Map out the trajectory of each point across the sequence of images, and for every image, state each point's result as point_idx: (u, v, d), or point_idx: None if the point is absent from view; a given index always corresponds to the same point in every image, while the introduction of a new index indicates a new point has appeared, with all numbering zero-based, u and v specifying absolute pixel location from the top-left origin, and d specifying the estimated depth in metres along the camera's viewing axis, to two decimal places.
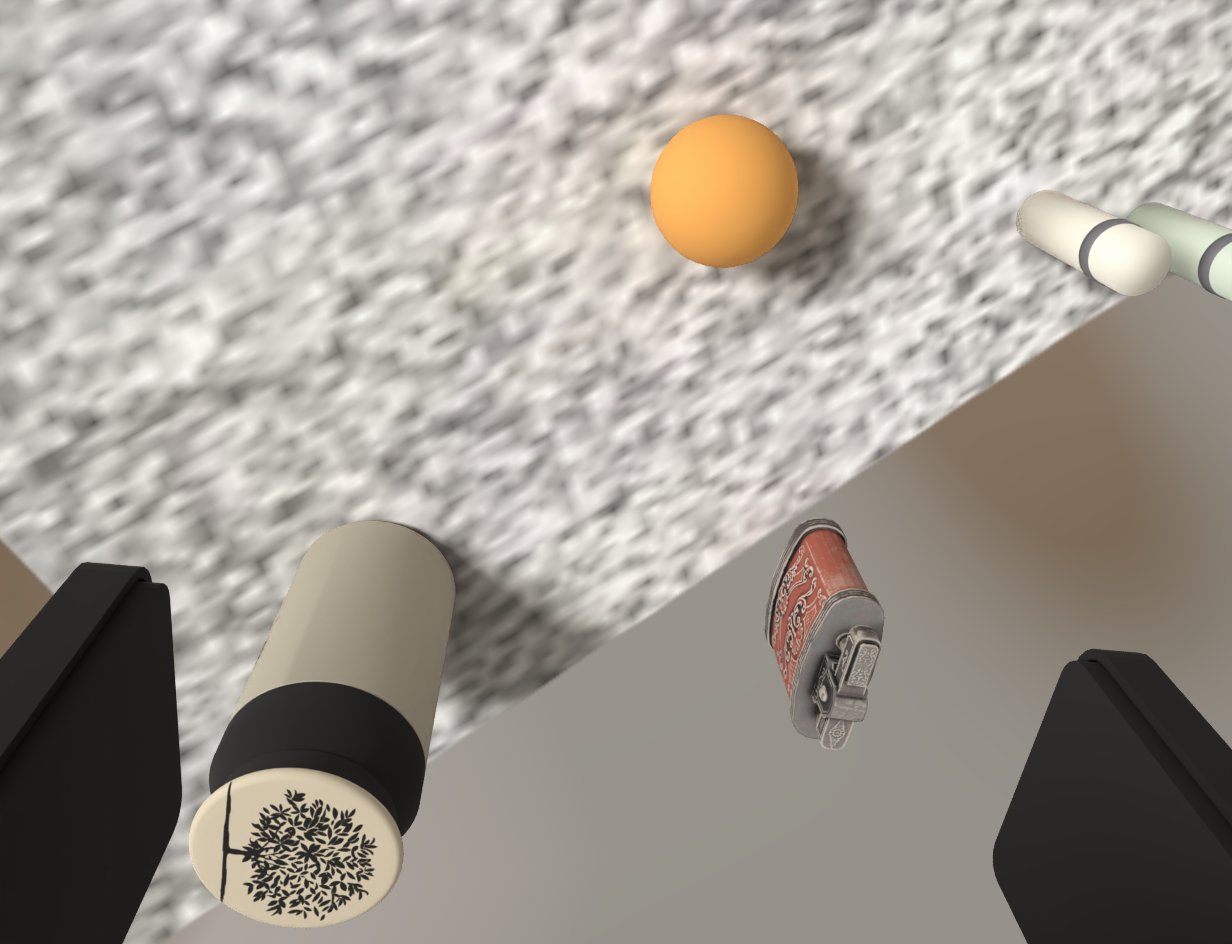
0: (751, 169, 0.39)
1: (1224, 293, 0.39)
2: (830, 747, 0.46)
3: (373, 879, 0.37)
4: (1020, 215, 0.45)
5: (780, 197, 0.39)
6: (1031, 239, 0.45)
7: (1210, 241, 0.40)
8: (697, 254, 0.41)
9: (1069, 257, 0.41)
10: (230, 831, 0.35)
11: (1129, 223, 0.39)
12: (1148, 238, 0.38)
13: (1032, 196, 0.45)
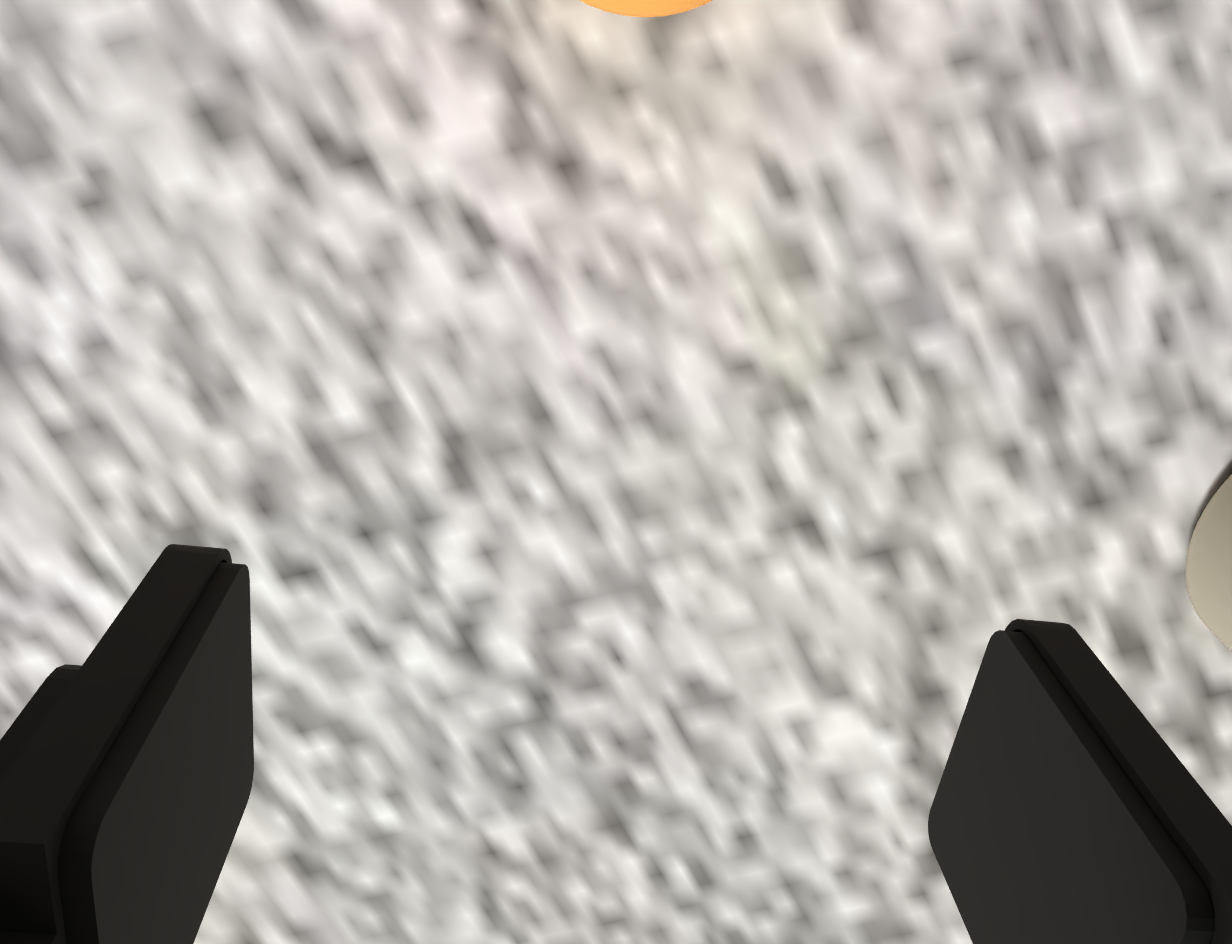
0: None
1: None
2: None
3: None
4: None
5: None
6: None
7: None
8: None
9: None
10: None
11: None
12: None
13: None
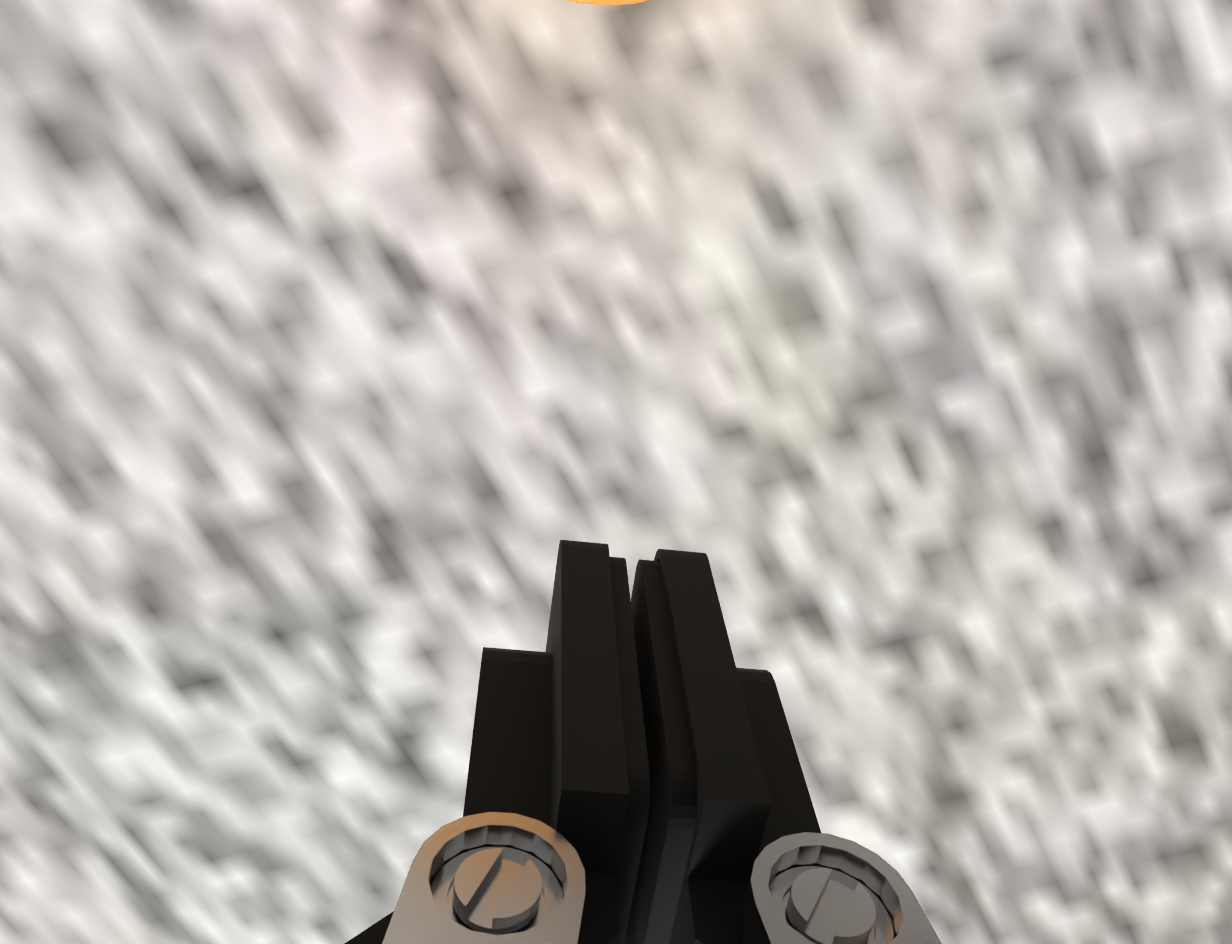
0: None
1: None
2: None
3: None
4: None
5: None
6: None
7: None
8: None
9: None
10: None
11: None
12: None
13: None
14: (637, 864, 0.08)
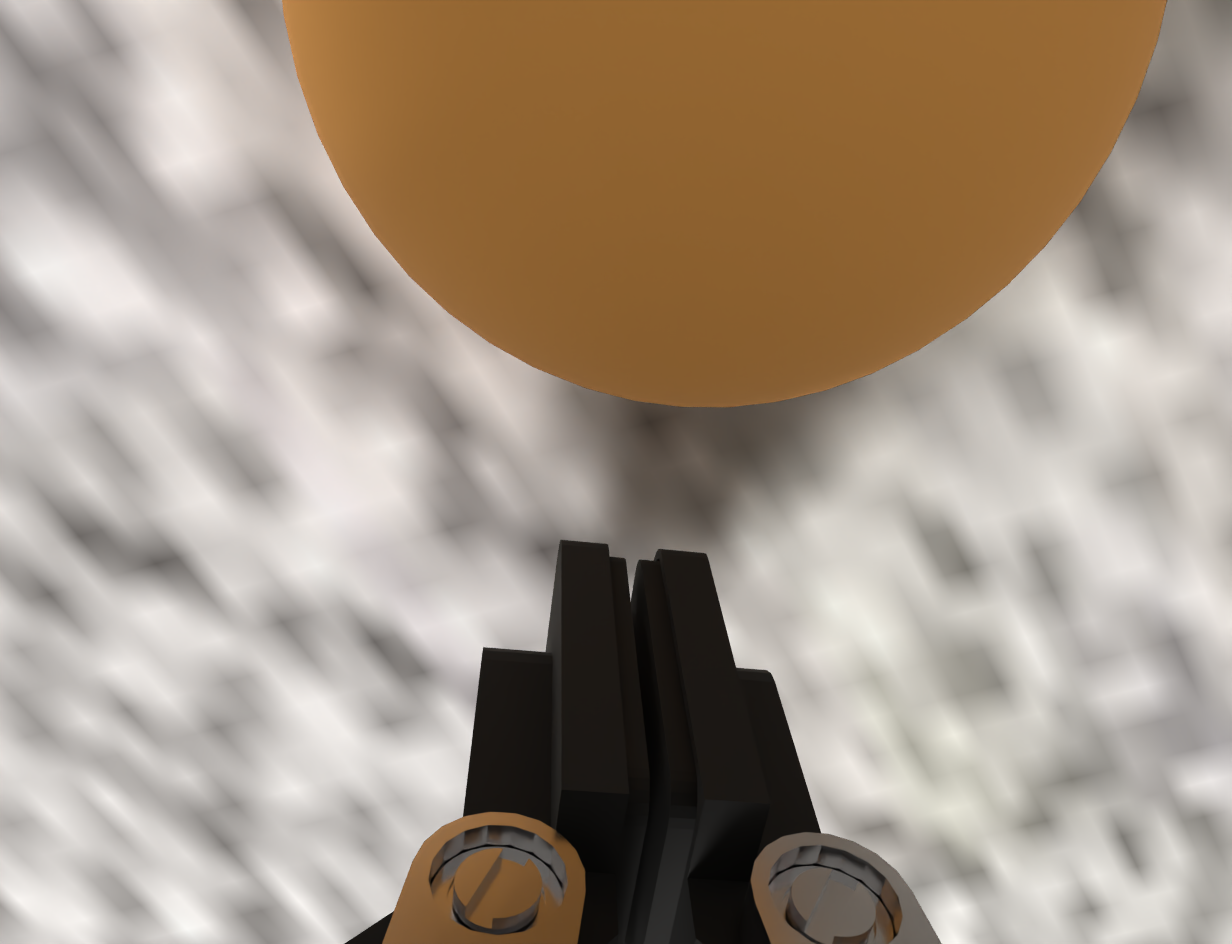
0: None
1: None
2: None
3: None
4: None
5: None
6: None
7: None
8: (1074, 198, 0.06)
9: None
10: None
11: None
12: None
13: None
14: (637, 864, 0.08)
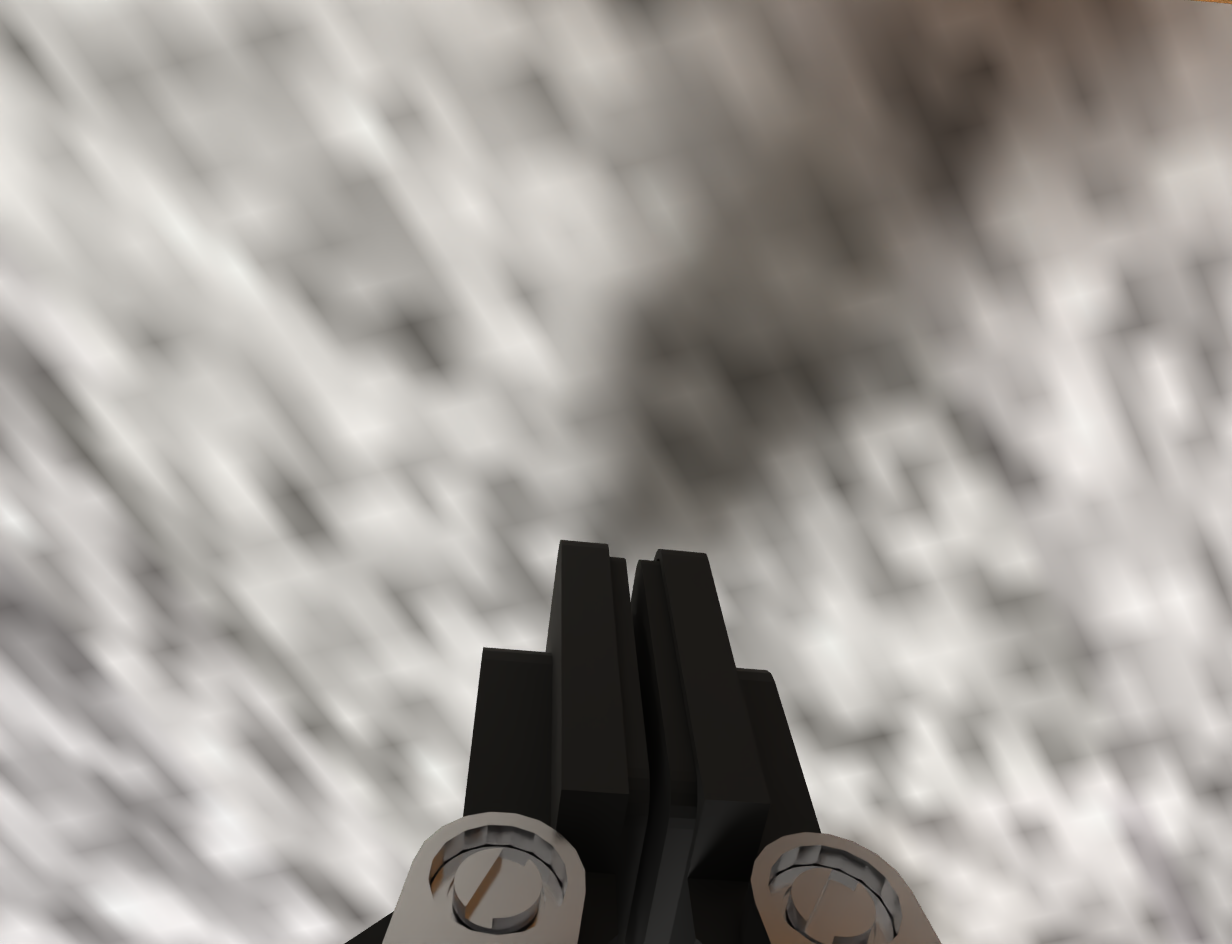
0: None
1: None
2: None
3: None
4: None
5: None
6: None
7: None
8: None
9: None
10: None
11: None
12: None
13: None
14: (637, 864, 0.08)
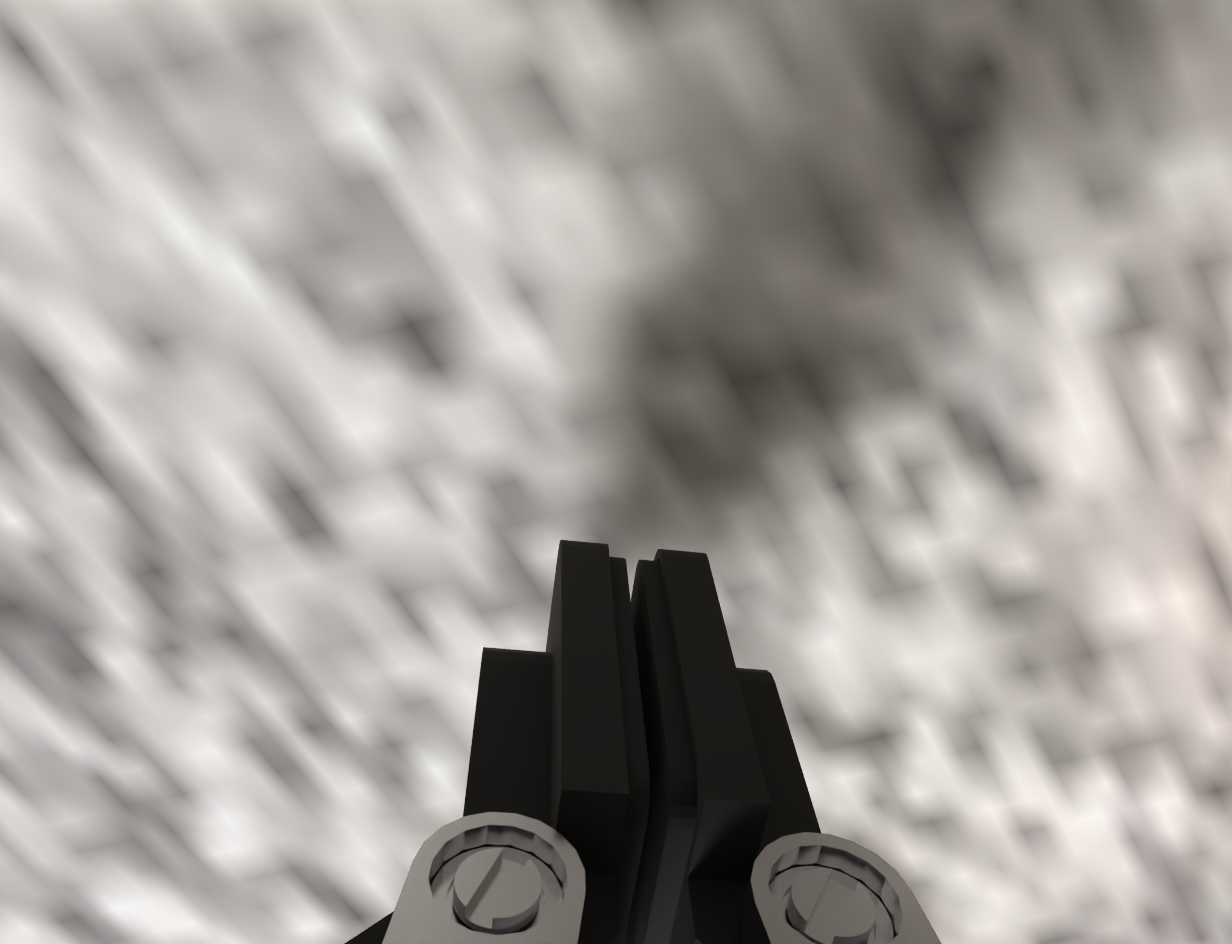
0: None
1: None
2: None
3: None
4: None
5: None
6: None
7: None
8: None
9: None
10: None
11: None
12: None
13: None
14: (637, 864, 0.08)
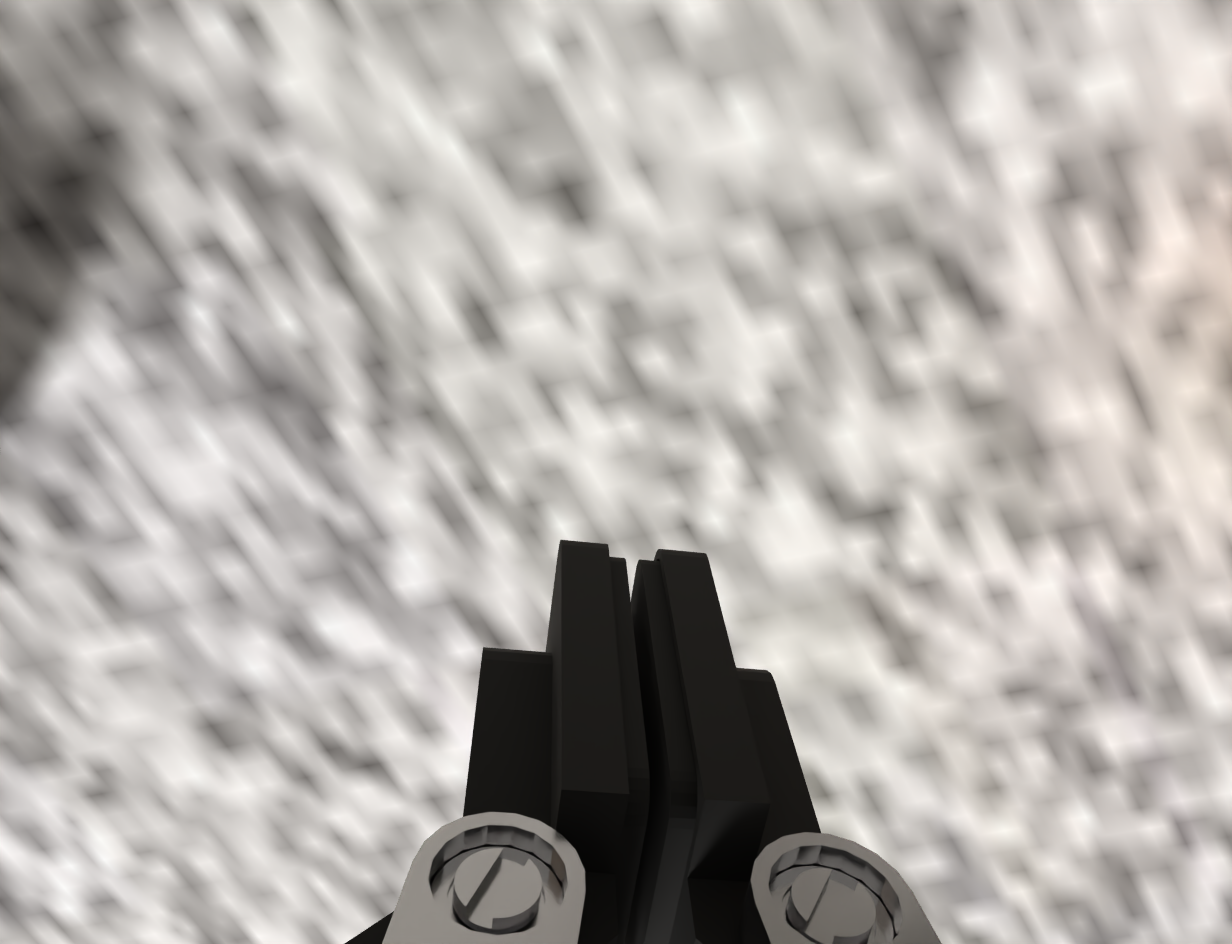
0: None
1: None
2: None
3: None
4: None
5: None
6: None
7: None
8: None
9: None
10: None
11: None
12: None
13: None
14: (637, 864, 0.08)
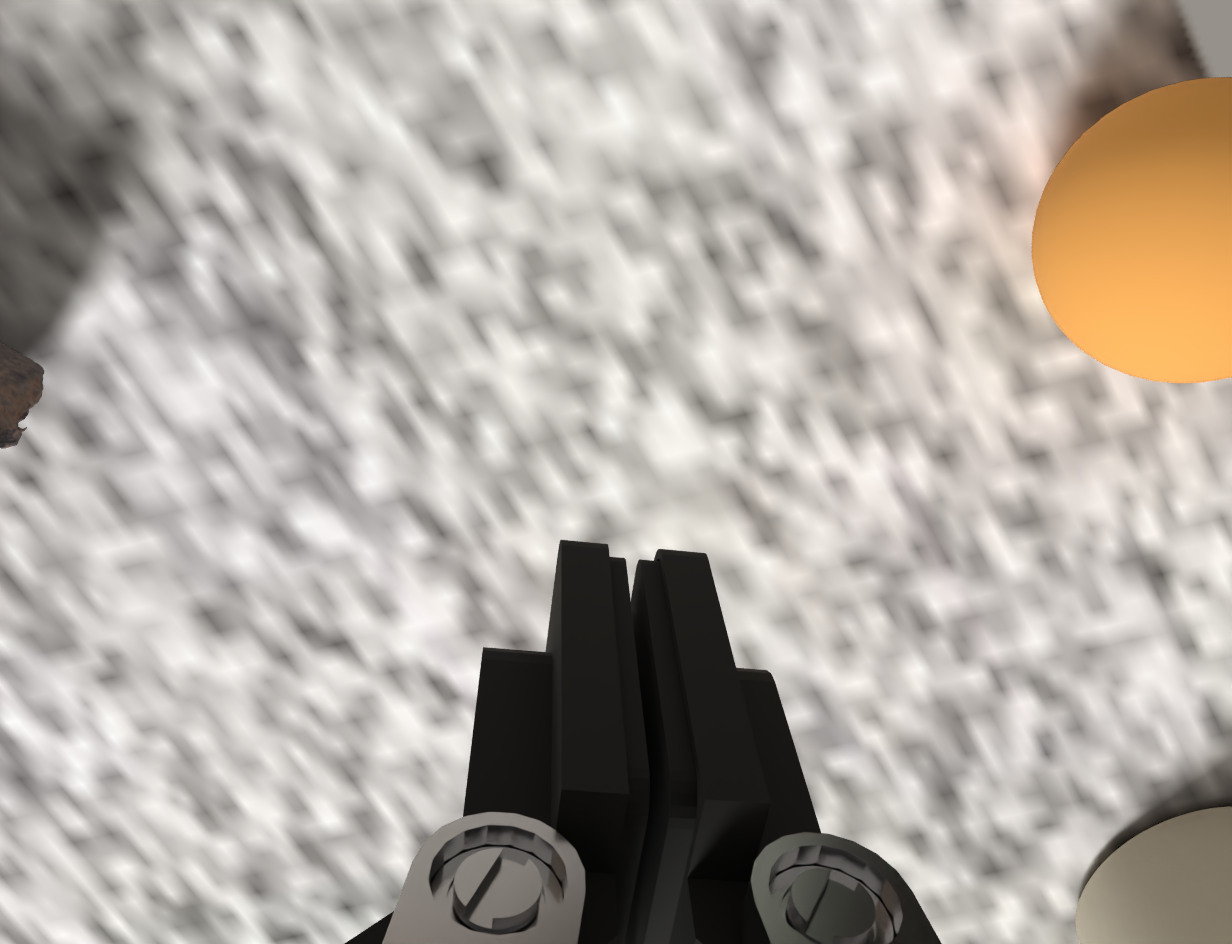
0: (1059, 323, 0.22)
1: None
2: None
3: None
4: None
5: None
6: None
7: None
8: (1179, 271, 0.18)
9: None
10: None
11: None
12: None
13: None
14: (637, 864, 0.08)
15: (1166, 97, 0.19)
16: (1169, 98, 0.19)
